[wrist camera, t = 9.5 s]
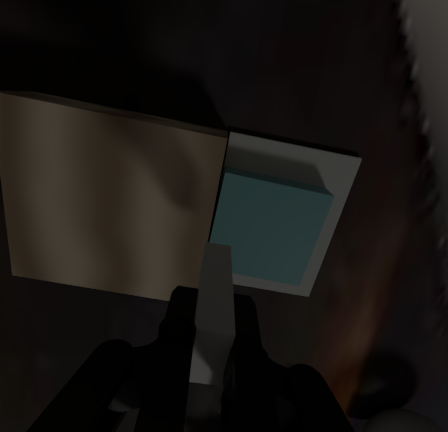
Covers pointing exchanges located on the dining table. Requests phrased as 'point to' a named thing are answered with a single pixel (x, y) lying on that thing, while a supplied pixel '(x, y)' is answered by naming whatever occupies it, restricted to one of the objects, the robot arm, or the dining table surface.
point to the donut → (401, 422)
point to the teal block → (269, 224)
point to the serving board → (106, 194)
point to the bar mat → (301, 172)
